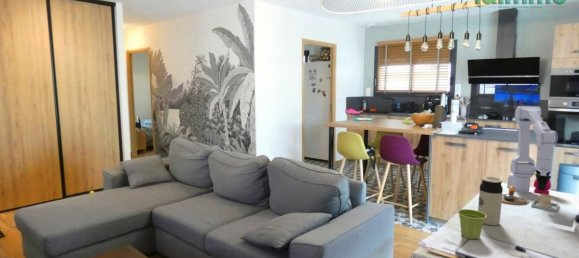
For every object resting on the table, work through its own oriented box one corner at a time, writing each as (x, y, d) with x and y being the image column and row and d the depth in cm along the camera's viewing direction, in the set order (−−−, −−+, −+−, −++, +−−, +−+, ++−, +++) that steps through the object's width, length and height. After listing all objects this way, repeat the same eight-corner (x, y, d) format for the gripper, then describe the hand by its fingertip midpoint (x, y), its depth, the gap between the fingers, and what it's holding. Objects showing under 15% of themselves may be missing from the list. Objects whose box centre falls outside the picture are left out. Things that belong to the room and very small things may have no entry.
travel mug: (496, 219, 149) (500, 177, 147) (502, 227, 141) (506, 182, 139) (475, 217, 151) (478, 175, 149) (479, 224, 144) (483, 180, 141)
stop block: (539, 206, 164) (540, 193, 163) (550, 208, 161) (551, 195, 160) (538, 208, 161) (539, 195, 160) (549, 210, 158) (550, 197, 157)
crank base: (493, 194, 181) (493, 191, 181) (531, 202, 171) (531, 198, 170) (485, 203, 169) (485, 199, 169) (525, 211, 159) (526, 207, 158)
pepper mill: (529, 192, 185) (533, 154, 183) (538, 190, 188) (542, 152, 186) (544, 196, 179) (548, 156, 176) (553, 194, 182) (557, 155, 179)
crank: (507, 194, 176) (507, 185, 176) (516, 196, 174) (517, 187, 173) (503, 198, 169) (503, 189, 169) (512, 200, 167) (513, 191, 166)
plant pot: (460, 228, 140) (461, 207, 138) (487, 235, 134) (489, 212, 133) (453, 236, 132) (454, 214, 131) (481, 244, 127) (483, 220, 125)
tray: (533, 204, 167) (534, 199, 167) (558, 209, 161) (559, 203, 161) (530, 209, 160) (531, 204, 160) (556, 215, 154) (557, 209, 154)
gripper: (533, 154, 168) (530, 182, 169) (533, 160, 156) (530, 190, 158) (552, 156, 164) (549, 185, 165) (553, 162, 152) (550, 193, 154)
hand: (541, 188), depth 161 cm, fingers open, 7 cm apart
